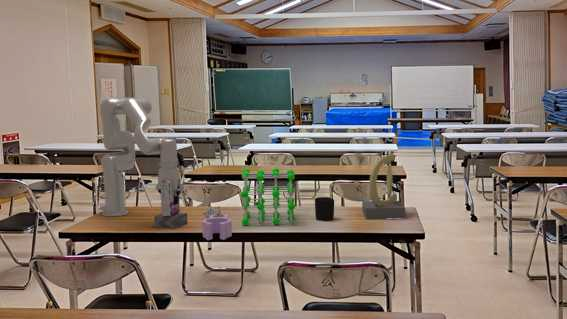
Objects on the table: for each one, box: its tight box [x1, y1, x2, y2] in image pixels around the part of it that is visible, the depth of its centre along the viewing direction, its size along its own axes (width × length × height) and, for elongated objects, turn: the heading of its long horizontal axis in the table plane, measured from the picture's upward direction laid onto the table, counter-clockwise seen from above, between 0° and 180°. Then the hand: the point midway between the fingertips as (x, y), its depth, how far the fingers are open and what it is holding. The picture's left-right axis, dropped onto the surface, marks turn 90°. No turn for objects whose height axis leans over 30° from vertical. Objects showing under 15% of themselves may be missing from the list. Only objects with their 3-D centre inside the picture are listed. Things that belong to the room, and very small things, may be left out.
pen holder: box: [314, 196, 335, 222], centre depth 295 cm, size 9×9×10 cm
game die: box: [202, 205, 223, 219], centre depth 290 cm, size 9×8×10 cm
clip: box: [202, 213, 233, 241], centre depth 268 cm, size 20×12×7 cm, turn 1°
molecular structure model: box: [240, 167, 296, 227], centre depth 293 cm, size 24×25×24 cm
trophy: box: [361, 153, 406, 220], centre depth 301 cm, size 19×19×30 cm
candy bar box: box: [160, 181, 181, 216], centre depth 286 cm, size 11×5×16 cm, turn 168°
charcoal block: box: [154, 212, 188, 230], centre depth 287 cm, size 11×11×5 cm
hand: (170, 203), depth 286 cm, fingers closed on candy bar box, 5 cm apart
